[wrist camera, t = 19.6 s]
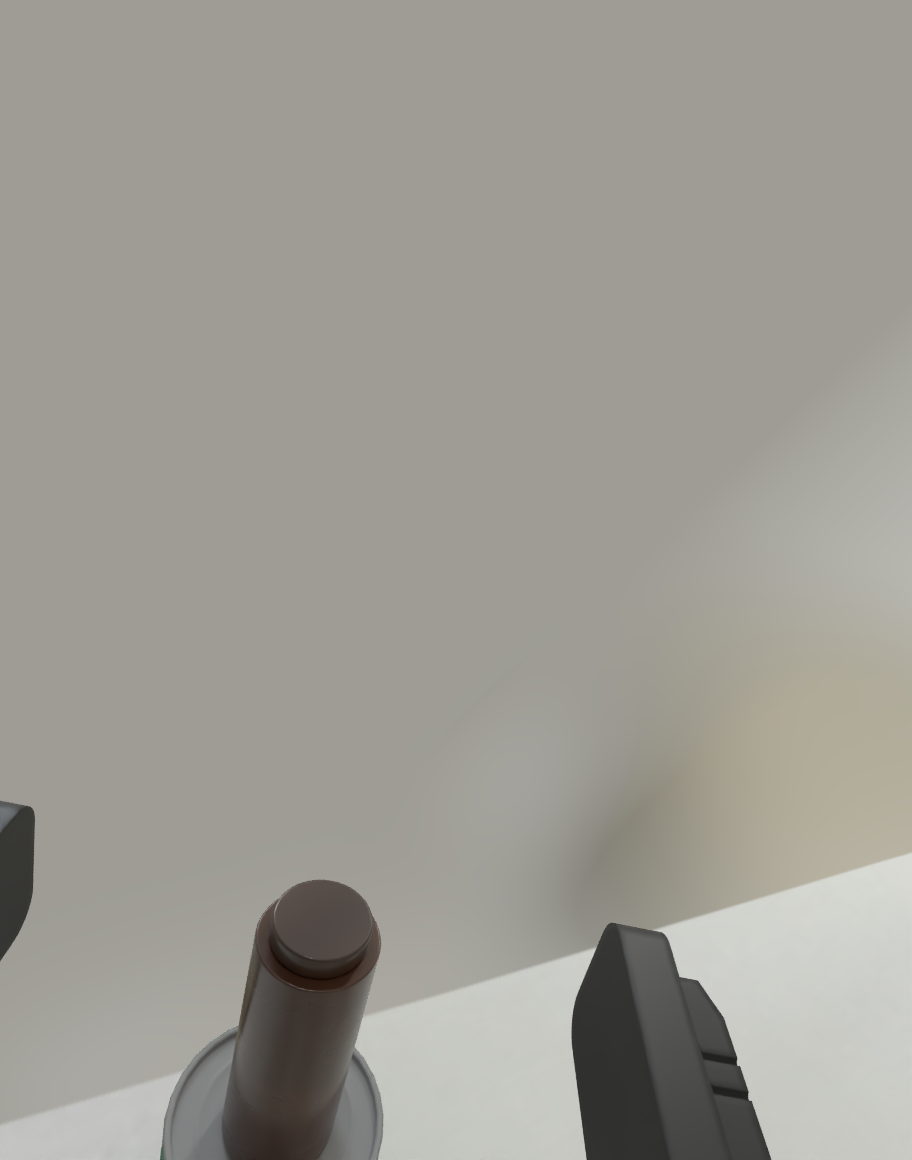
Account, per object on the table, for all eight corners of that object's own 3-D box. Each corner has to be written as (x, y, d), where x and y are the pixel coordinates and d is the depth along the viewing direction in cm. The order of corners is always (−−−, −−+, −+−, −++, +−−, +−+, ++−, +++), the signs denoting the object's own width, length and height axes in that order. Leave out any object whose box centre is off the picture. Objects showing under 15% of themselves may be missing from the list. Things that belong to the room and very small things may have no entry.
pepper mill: (197, 1124, 27) (230, 918, 23) (277, 1043, 30) (318, 851, 26) (279, 1207, 25) (329, 999, 21) (355, 1111, 28) (410, 916, 25)
